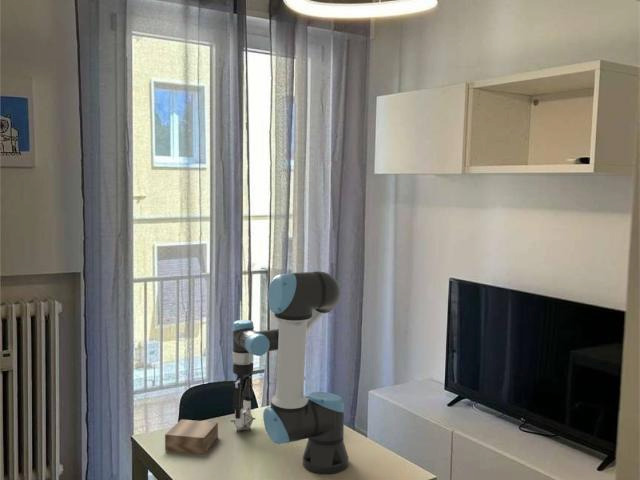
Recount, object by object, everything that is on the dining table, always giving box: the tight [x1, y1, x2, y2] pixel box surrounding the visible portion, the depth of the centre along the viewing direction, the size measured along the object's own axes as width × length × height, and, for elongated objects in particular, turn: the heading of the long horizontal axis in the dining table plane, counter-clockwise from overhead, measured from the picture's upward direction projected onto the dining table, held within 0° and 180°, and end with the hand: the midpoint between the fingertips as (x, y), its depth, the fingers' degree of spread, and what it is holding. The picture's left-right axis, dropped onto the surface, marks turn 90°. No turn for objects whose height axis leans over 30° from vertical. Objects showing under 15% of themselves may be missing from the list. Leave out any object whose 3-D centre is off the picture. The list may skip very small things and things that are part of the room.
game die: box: [230, 408, 256, 433], centre depth 228 cm, size 9×8×10 cm
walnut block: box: [164, 418, 219, 455], centre depth 216 cm, size 14×14×6 cm
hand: (243, 421), depth 228 cm, fingers closed on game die, 8 cm apart
